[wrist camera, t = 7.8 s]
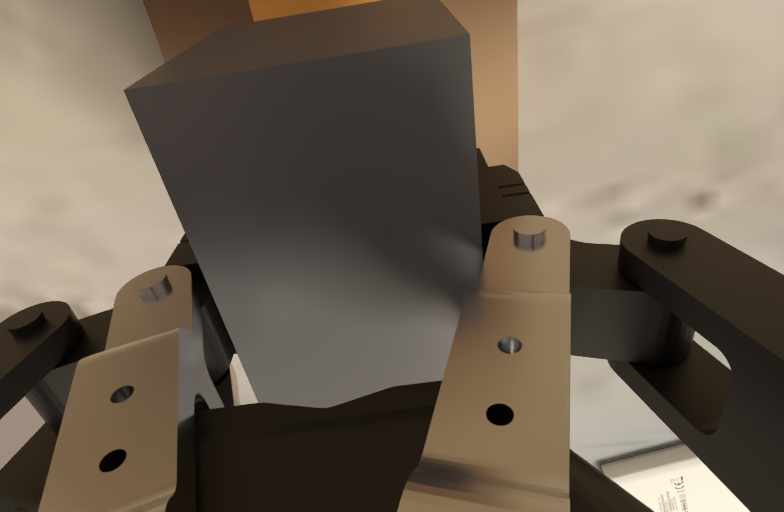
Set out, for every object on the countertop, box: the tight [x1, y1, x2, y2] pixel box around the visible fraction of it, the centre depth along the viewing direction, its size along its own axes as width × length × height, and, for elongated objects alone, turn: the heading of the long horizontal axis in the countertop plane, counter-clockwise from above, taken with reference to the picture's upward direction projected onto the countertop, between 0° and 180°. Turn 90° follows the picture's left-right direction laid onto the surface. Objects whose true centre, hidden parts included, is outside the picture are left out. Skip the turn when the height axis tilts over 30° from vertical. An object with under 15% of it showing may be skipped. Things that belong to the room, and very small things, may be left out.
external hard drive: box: [601, 444, 750, 512], centre depth 30 cm, size 2×8×12 cm
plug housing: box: [124, 0, 483, 408], centre depth 11 cm, size 9×5×5 cm, turn 8°
